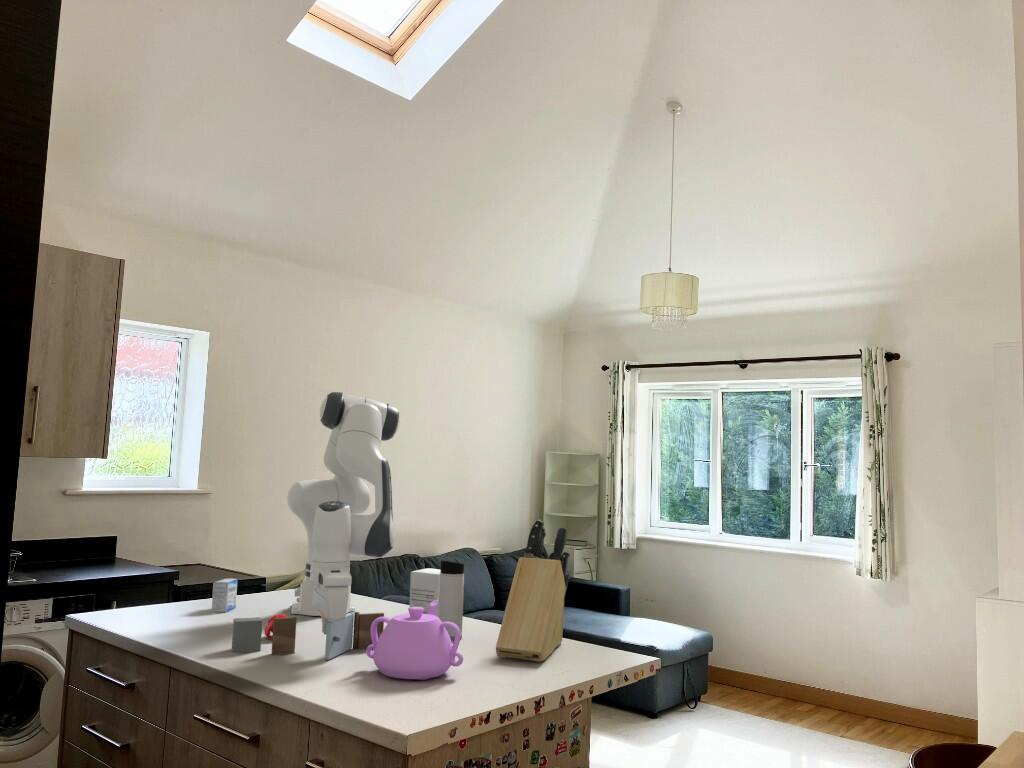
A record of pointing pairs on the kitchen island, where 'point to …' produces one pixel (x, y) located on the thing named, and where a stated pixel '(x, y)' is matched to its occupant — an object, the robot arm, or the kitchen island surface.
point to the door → (339, 636)
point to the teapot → (414, 645)
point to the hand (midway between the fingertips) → (326, 633)
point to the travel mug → (451, 595)
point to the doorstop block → (246, 634)
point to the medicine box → (224, 595)
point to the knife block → (535, 600)
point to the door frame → (287, 632)
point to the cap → (270, 625)
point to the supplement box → (424, 588)
